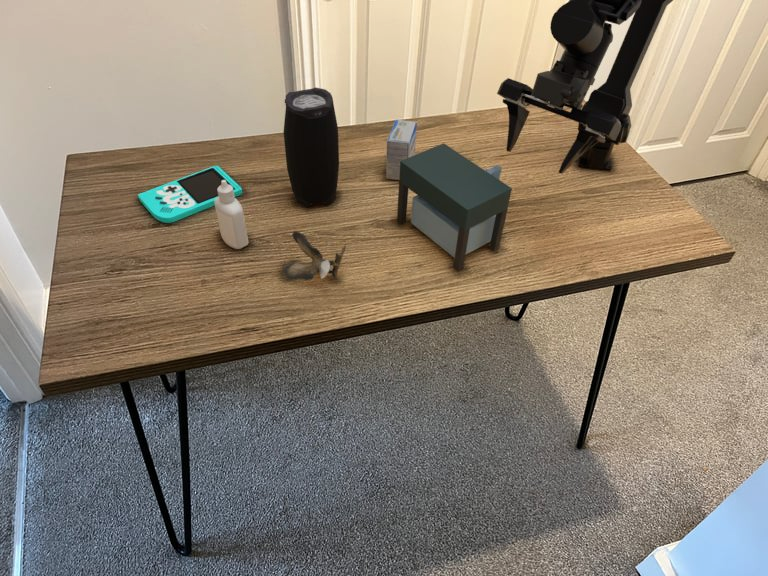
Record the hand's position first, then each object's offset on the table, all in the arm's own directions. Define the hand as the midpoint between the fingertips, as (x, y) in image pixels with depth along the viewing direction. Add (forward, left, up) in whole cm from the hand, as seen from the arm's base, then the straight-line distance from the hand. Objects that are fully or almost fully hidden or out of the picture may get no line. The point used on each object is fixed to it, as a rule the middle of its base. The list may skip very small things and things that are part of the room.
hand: (533, 162), depth 94 cm
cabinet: (+3, -12, -15) cm, 19 cm away
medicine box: (-15, -23, -15) cm, 31 cm away
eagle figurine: (+17, -32, -15) cm, 39 cm away
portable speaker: (-3, -37, -15) cm, 40 cm away
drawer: (0, -9, -15) cm, 17 cm away
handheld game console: (+2, -59, -15) cm, 61 cm away
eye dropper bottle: (+12, -47, -15) cm, 51 cm away
